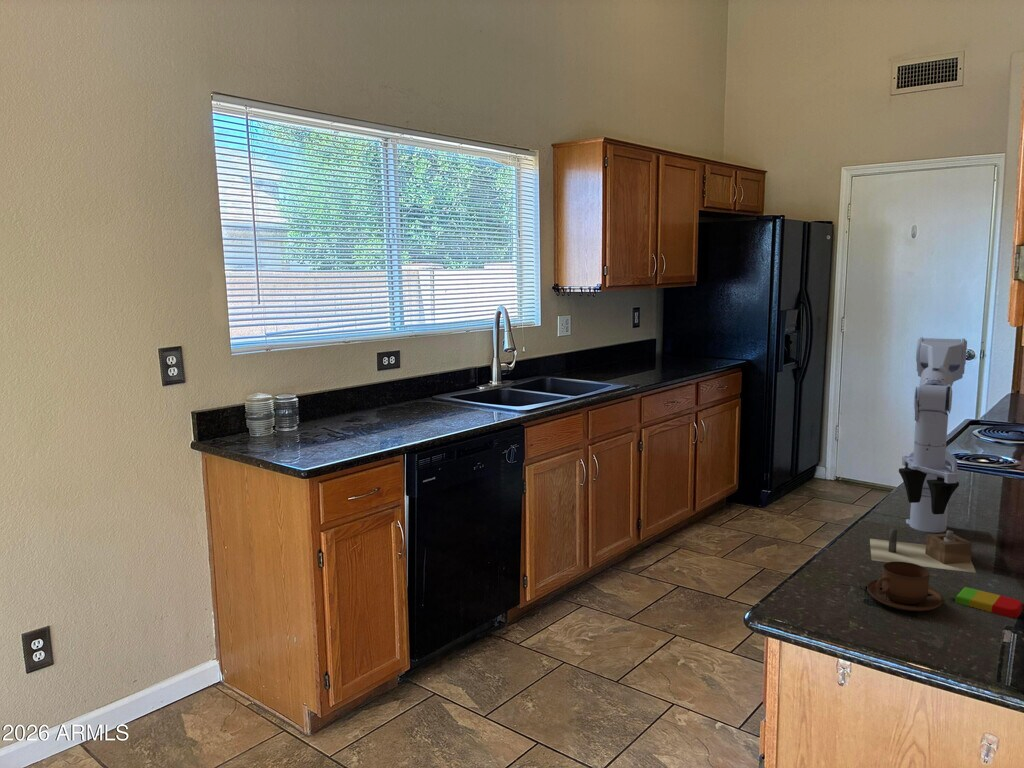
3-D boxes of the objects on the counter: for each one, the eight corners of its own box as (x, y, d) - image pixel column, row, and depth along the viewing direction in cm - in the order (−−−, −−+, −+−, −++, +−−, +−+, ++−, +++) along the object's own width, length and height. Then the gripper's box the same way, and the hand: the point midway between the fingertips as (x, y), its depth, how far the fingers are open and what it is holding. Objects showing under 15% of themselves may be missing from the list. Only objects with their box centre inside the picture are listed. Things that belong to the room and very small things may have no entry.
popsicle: (1016, 621, 128) (1017, 610, 128) (919, 596, 138) (920, 586, 138) (1024, 610, 132) (1024, 600, 132) (929, 587, 142) (929, 577, 142)
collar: (925, 553, 154) (926, 534, 154) (950, 552, 155) (952, 533, 155) (943, 564, 149) (945, 544, 148) (970, 562, 150) (971, 542, 149)
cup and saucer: (921, 624, 127) (923, 589, 126) (853, 599, 137) (855, 567, 136) (955, 604, 134) (958, 571, 133) (888, 582, 144) (890, 551, 143)
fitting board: (869, 543, 164) (871, 513, 163) (966, 554, 156) (968, 523, 156) (871, 564, 152) (872, 533, 151) (975, 577, 145) (978, 545, 144)
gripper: (890, 436, 162) (886, 498, 164) (935, 452, 147) (930, 520, 149) (921, 435, 162) (917, 496, 164) (969, 451, 148) (964, 518, 150)
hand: (925, 507), depth 157 cm, fingers open, 7 cm apart
